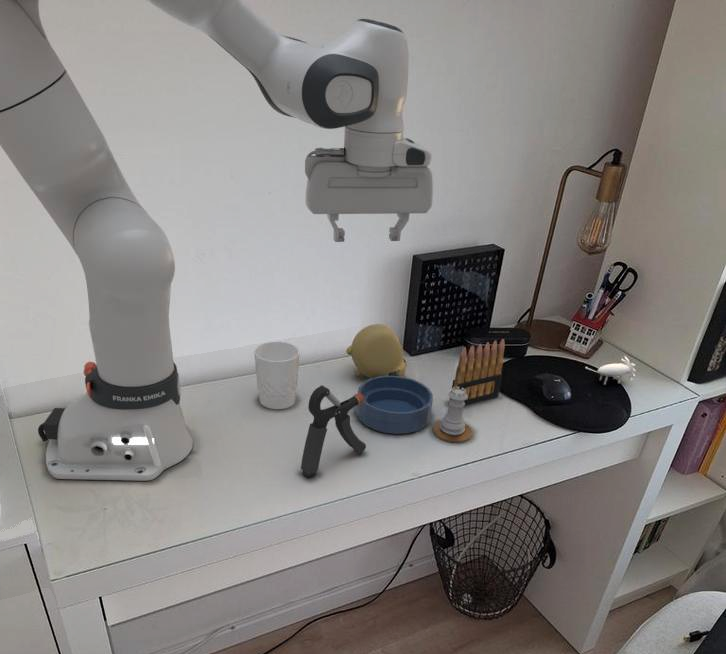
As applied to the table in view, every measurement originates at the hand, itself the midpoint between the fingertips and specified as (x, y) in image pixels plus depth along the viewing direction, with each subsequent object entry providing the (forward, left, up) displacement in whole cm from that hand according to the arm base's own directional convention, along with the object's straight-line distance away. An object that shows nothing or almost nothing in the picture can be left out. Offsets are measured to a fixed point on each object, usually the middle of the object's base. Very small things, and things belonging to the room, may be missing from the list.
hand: (366, 240), depth 112 cm
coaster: (+14, -15, -29) cm, 36 cm away
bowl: (+5, -8, -29) cm, 31 cm away
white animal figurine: (+52, -2, -29) cm, 60 cm away
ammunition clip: (+22, -5, -29) cm, 37 cm away
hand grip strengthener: (-9, -21, -29) cm, 37 cm away
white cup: (-15, 0, -29) cm, 33 cm away
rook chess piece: (+14, -15, -29) cm, 35 cm away
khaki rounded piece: (+6, +7, -29) cm, 31 cm away
